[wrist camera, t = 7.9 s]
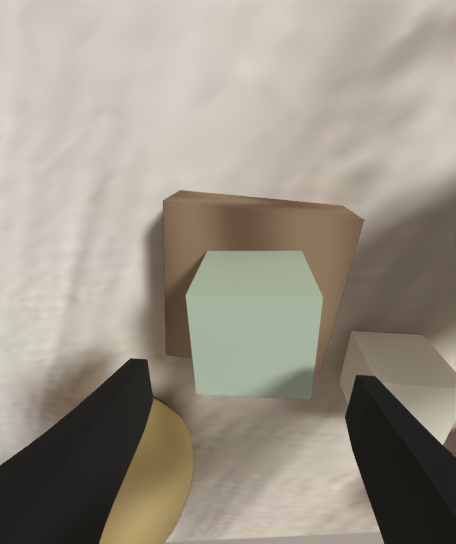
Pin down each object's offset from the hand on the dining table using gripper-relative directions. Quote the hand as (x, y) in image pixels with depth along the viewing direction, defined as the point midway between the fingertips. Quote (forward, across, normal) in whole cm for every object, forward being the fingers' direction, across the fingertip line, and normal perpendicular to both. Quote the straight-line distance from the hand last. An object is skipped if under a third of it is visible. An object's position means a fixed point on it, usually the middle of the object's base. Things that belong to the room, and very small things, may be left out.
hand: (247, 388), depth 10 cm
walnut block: (+11, 0, 0) cm, 11 cm away
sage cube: (+7, 0, 0) cm, 7 cm away
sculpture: (+10, +10, +16) cm, 22 cm away
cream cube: (+10, -10, +7) cm, 16 cm away
